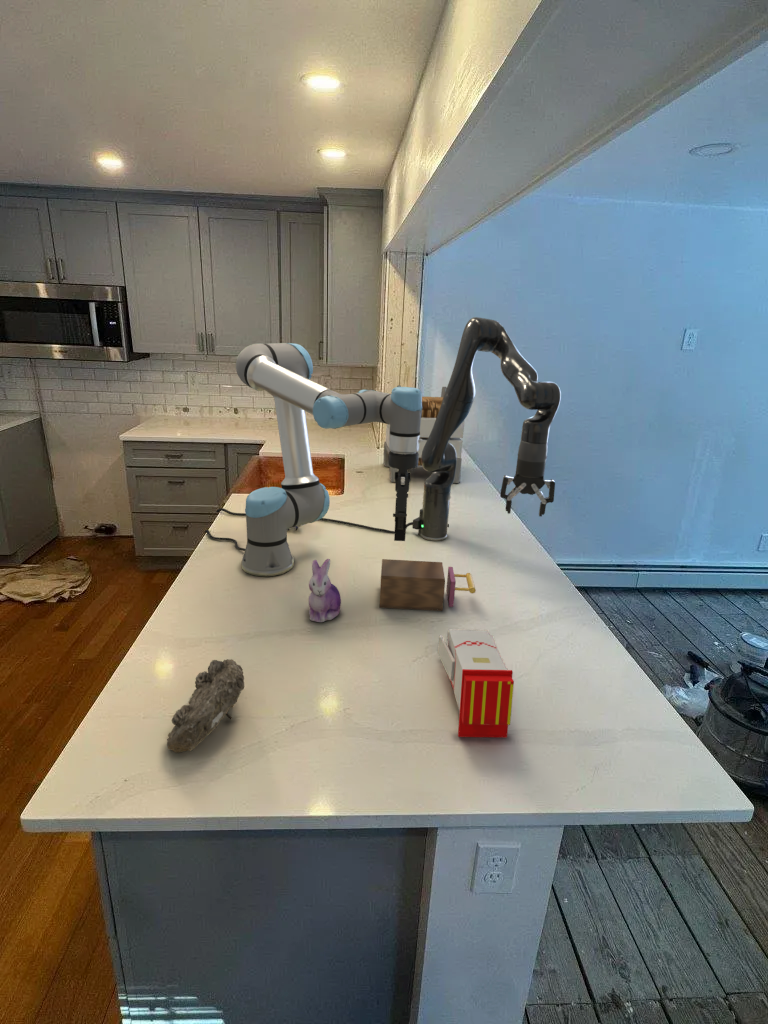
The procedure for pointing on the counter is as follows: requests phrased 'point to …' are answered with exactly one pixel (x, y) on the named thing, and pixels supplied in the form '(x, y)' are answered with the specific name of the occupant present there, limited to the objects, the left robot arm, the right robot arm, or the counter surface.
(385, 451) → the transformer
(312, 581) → the figurine
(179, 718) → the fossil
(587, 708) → the counter surface
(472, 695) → the toy
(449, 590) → the drawer
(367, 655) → the counter surface
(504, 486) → the right robot arm
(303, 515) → the left robot arm
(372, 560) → the counter surface
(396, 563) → the cabinet
